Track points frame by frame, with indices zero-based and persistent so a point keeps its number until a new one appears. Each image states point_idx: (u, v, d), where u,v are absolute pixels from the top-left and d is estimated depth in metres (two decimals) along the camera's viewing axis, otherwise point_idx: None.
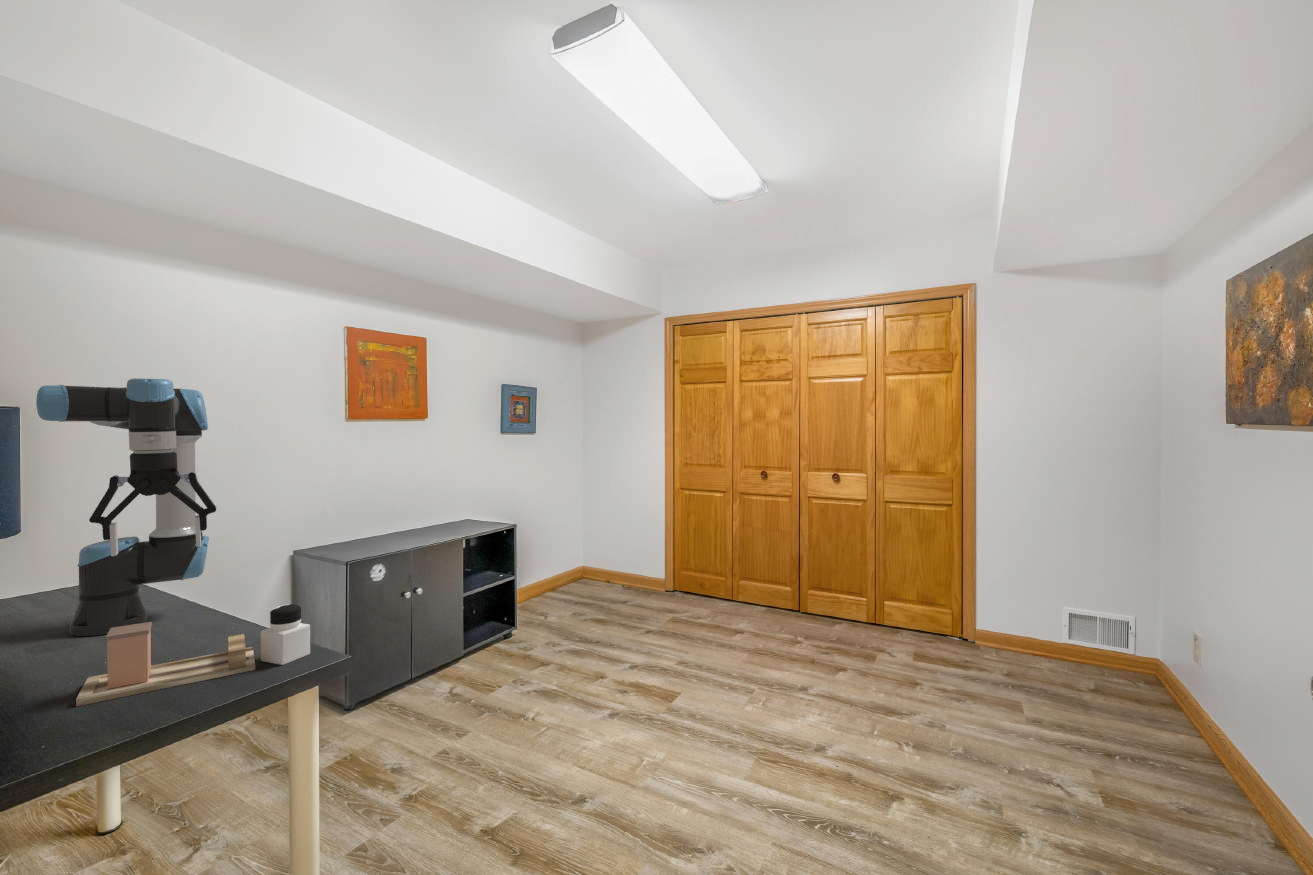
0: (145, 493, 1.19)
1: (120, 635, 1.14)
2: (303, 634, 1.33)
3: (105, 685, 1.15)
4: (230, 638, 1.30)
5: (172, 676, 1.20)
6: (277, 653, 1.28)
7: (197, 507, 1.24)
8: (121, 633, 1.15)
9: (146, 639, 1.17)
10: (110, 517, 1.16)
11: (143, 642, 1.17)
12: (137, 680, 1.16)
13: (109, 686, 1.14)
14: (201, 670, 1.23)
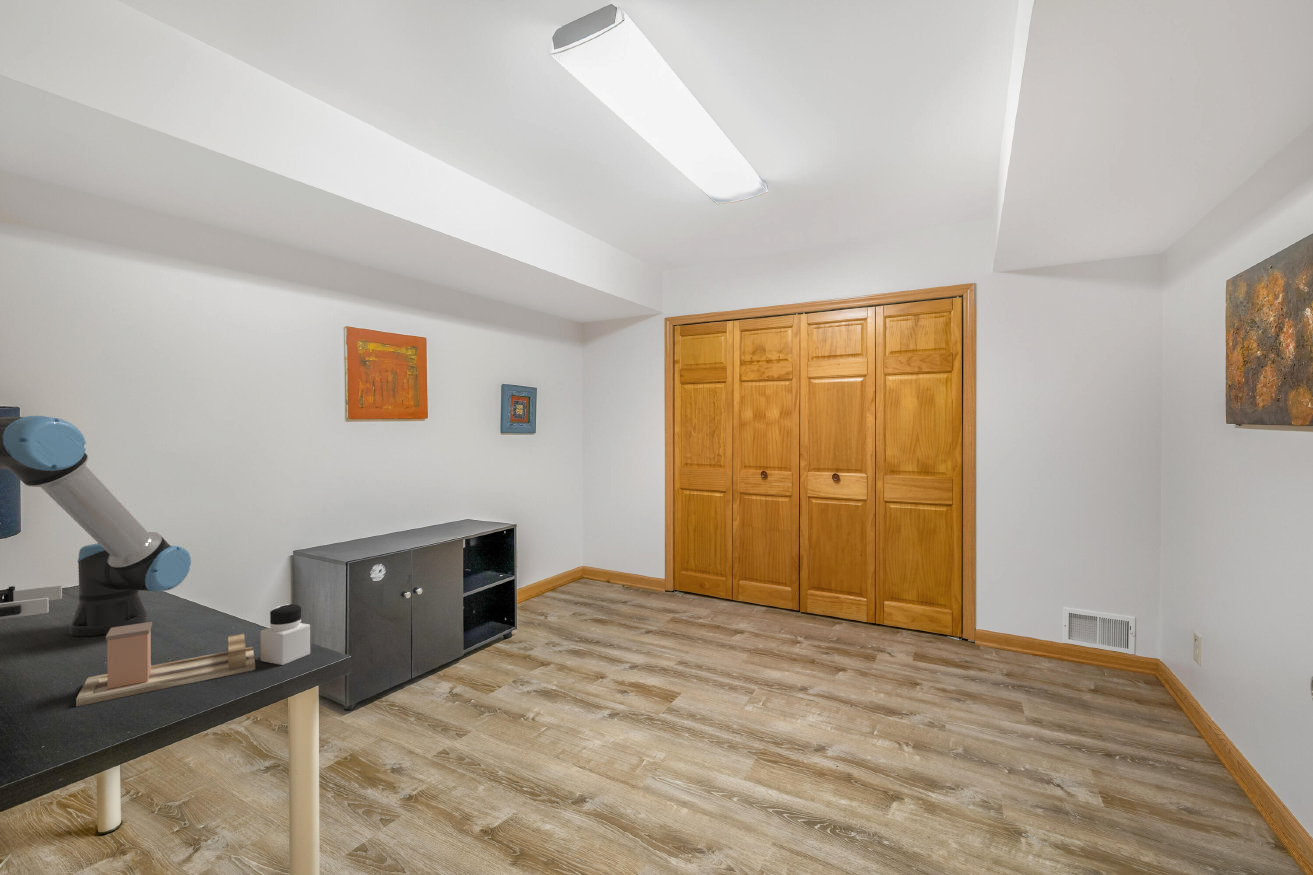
0: None
1: (120, 635, 1.14)
2: (303, 634, 1.33)
3: (105, 685, 1.15)
4: (230, 638, 1.30)
5: (172, 676, 1.20)
6: (277, 653, 1.28)
7: None
8: (121, 633, 1.15)
9: (146, 639, 1.17)
10: None
11: (143, 642, 1.17)
12: (137, 680, 1.16)
13: (109, 686, 1.14)
14: (201, 670, 1.23)
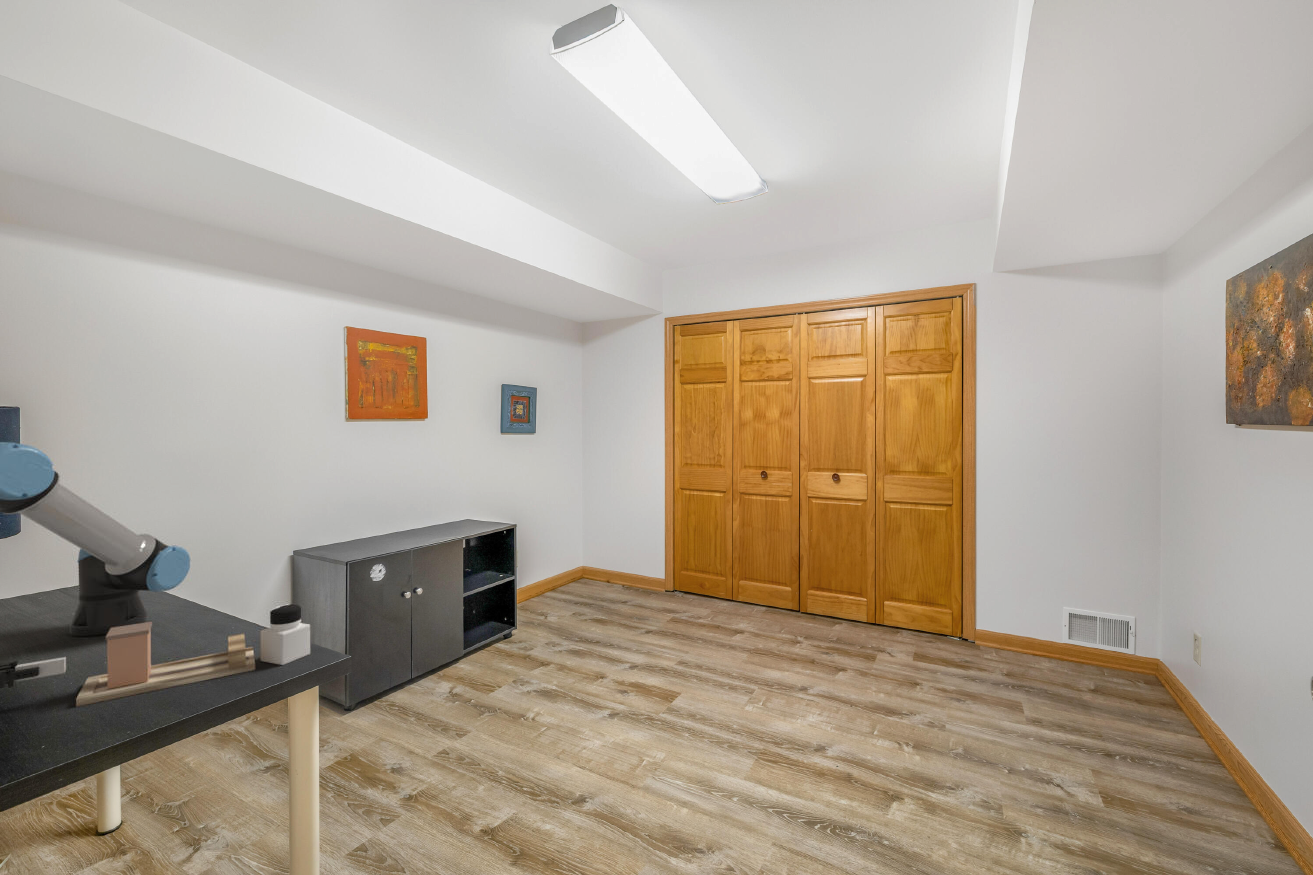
0: None
1: (120, 635, 1.14)
2: (303, 634, 1.33)
3: (105, 685, 1.15)
4: (230, 638, 1.30)
5: (172, 676, 1.20)
6: (277, 653, 1.28)
7: None
8: (121, 633, 1.15)
9: (146, 639, 1.17)
10: None
11: (143, 642, 1.17)
12: (137, 680, 1.16)
13: (109, 686, 1.14)
14: (201, 670, 1.23)
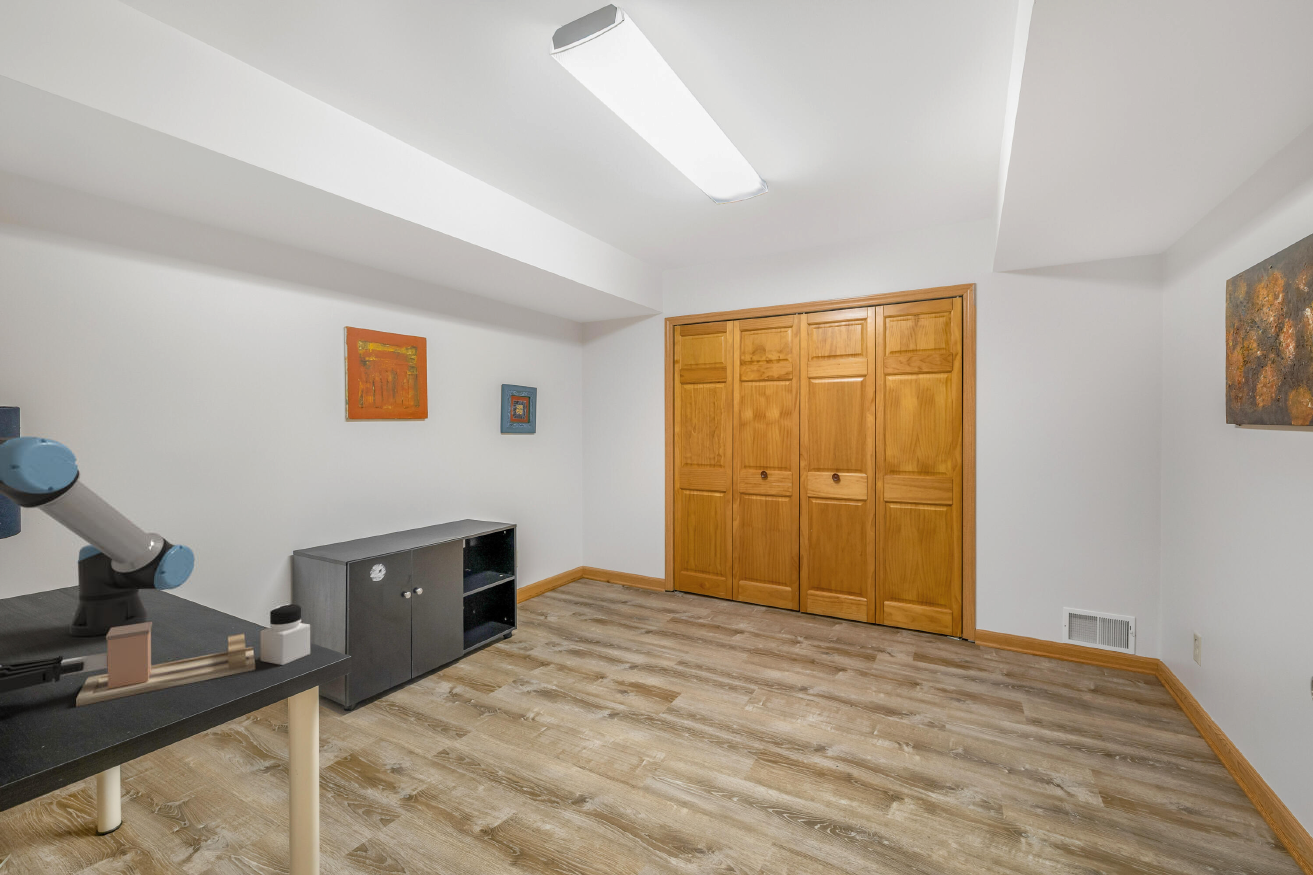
0: None
1: (120, 635, 1.14)
2: (303, 634, 1.33)
3: (105, 685, 1.15)
4: (230, 638, 1.30)
5: (172, 676, 1.20)
6: (277, 653, 1.28)
7: None
8: (121, 633, 1.15)
9: (146, 639, 1.17)
10: None
11: (143, 642, 1.17)
12: (137, 680, 1.16)
13: (109, 686, 1.14)
14: (201, 670, 1.23)
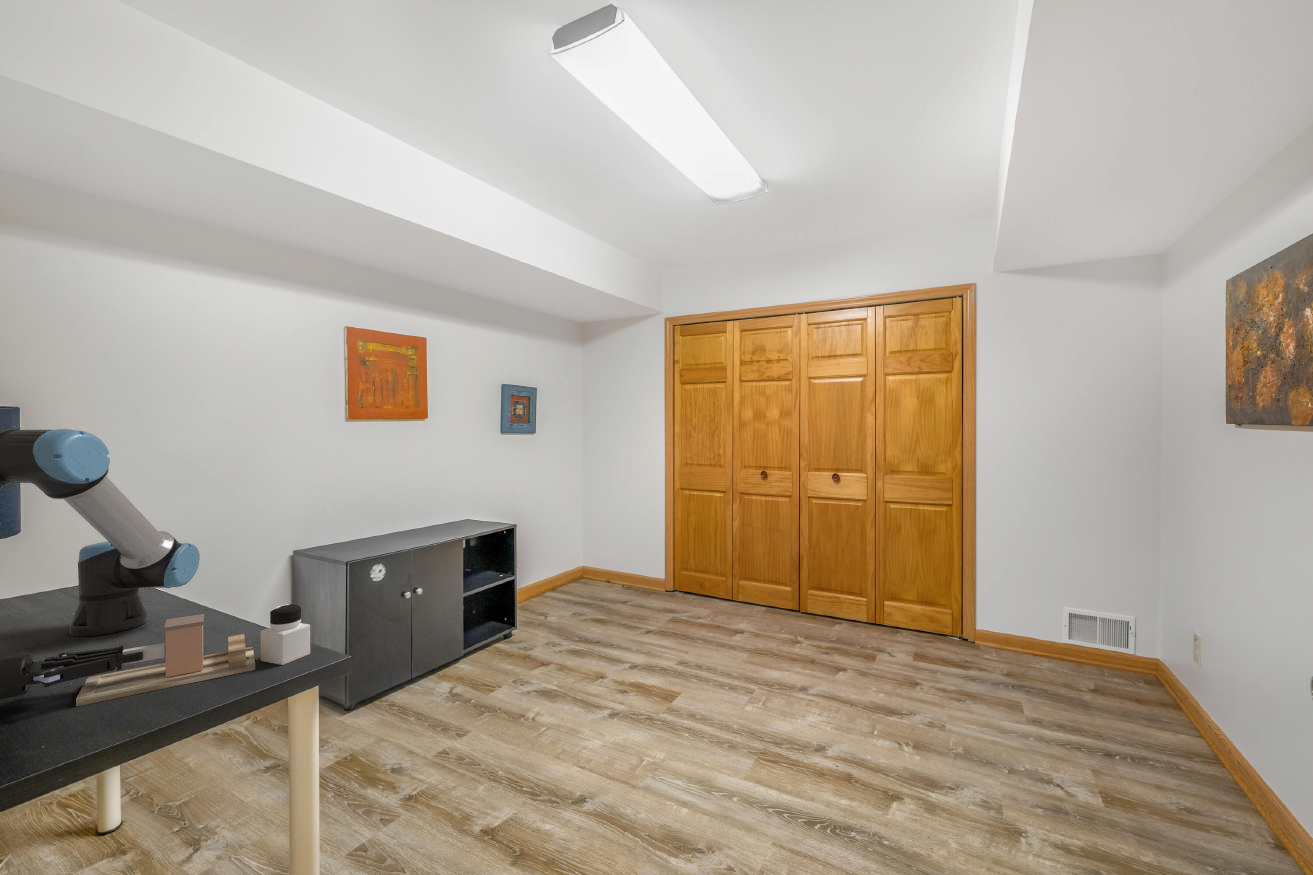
0: None
1: (177, 626, 1.20)
2: (303, 634, 1.33)
3: (105, 685, 1.15)
4: (230, 638, 1.30)
5: (172, 676, 1.20)
6: (277, 653, 1.28)
7: None
8: (178, 624, 1.20)
9: (201, 630, 1.22)
10: None
11: (198, 632, 1.22)
12: (193, 669, 1.21)
13: (167, 675, 1.19)
14: None
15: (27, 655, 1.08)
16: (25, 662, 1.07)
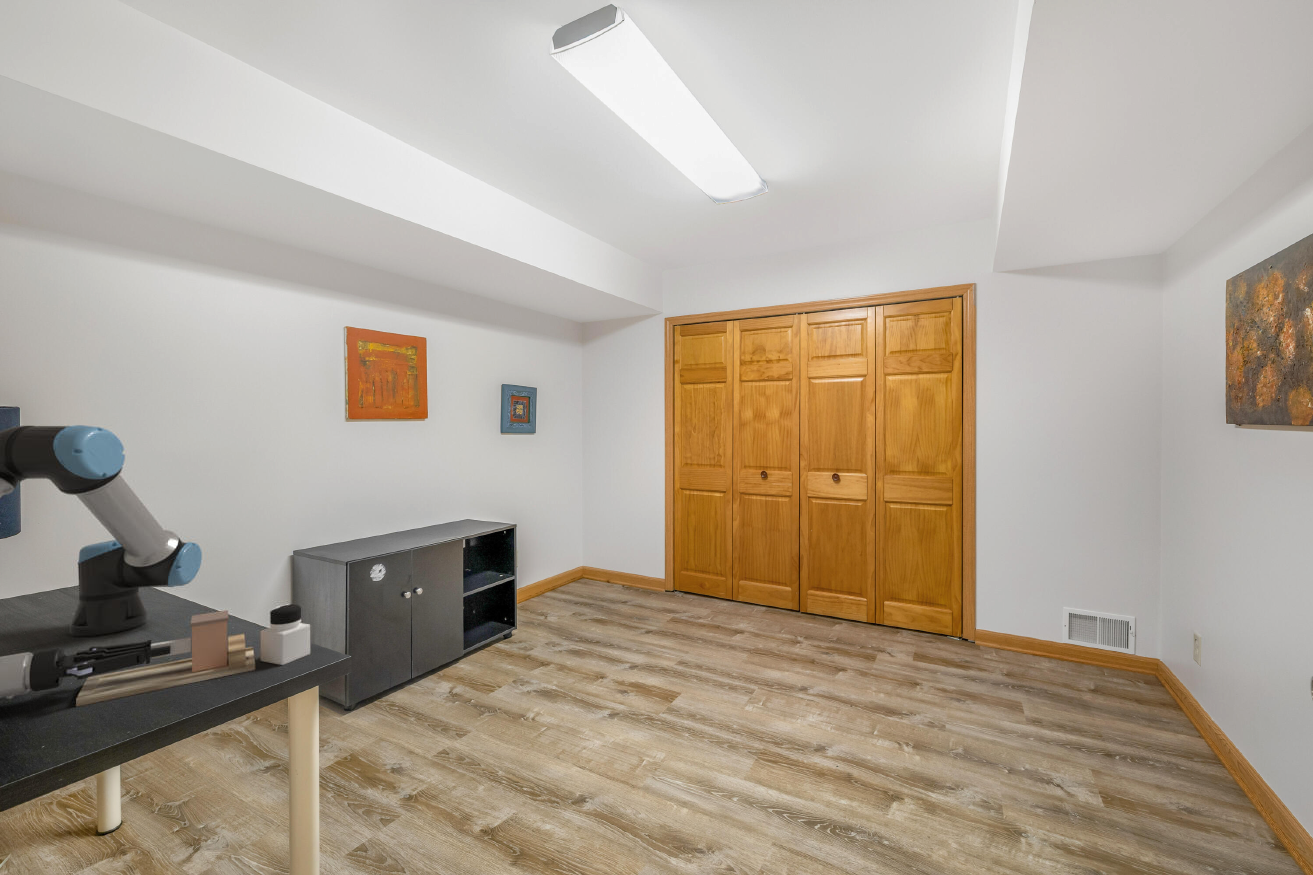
0: None
1: (203, 622, 1.22)
2: (303, 634, 1.33)
3: (105, 685, 1.15)
4: (230, 638, 1.30)
5: (172, 676, 1.20)
6: (277, 653, 1.28)
7: None
8: (204, 620, 1.23)
9: (226, 626, 1.25)
10: None
11: (223, 628, 1.25)
12: (218, 664, 1.24)
13: (193, 670, 1.21)
14: None
15: (60, 649, 1.11)
16: (58, 655, 1.10)
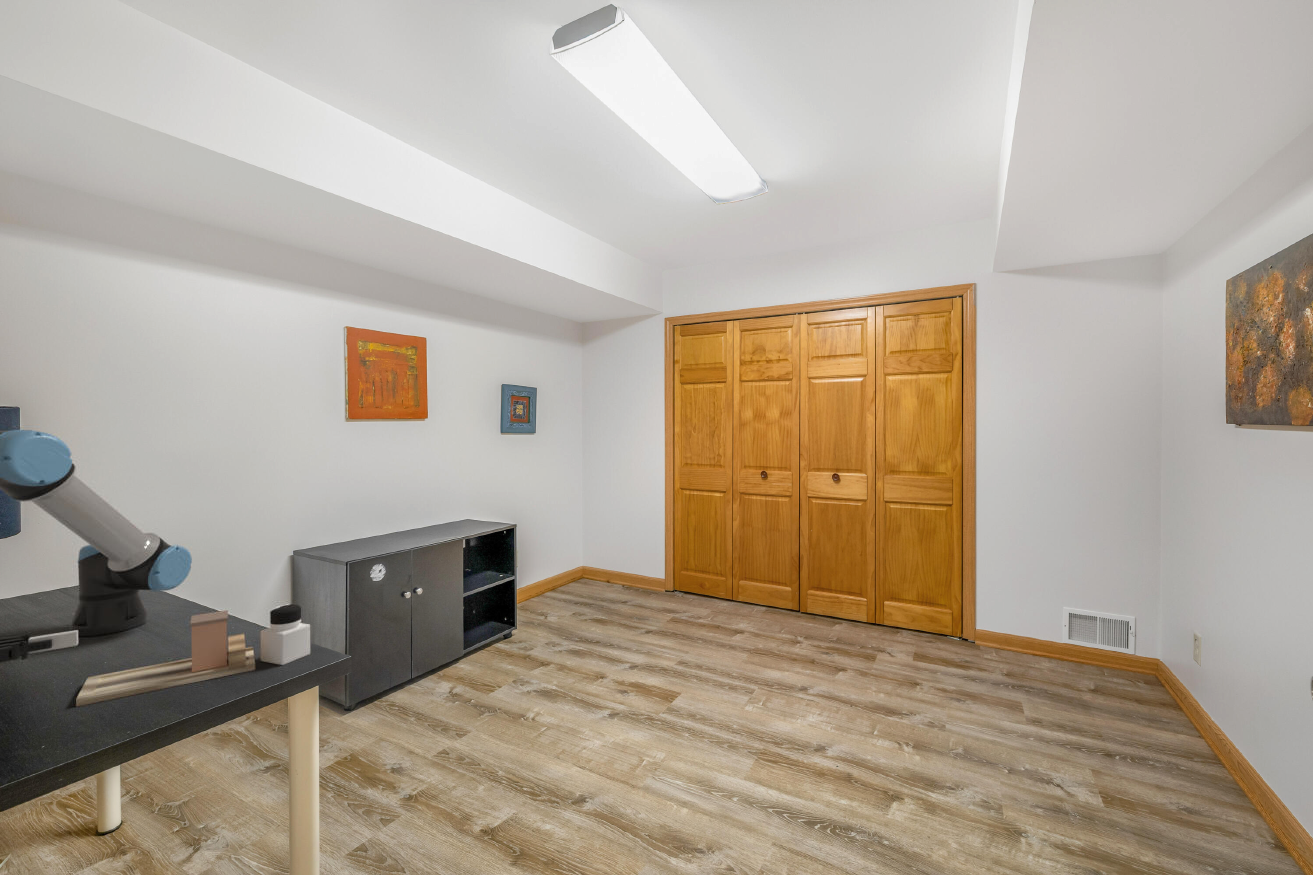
0: None
1: (203, 622, 1.22)
2: (303, 634, 1.33)
3: (105, 685, 1.15)
4: (230, 638, 1.30)
5: (172, 676, 1.20)
6: (277, 653, 1.28)
7: None
8: (203, 620, 1.23)
9: (225, 626, 1.25)
10: None
11: (223, 628, 1.24)
12: (217, 664, 1.24)
13: (193, 670, 1.21)
14: None
15: None
16: None
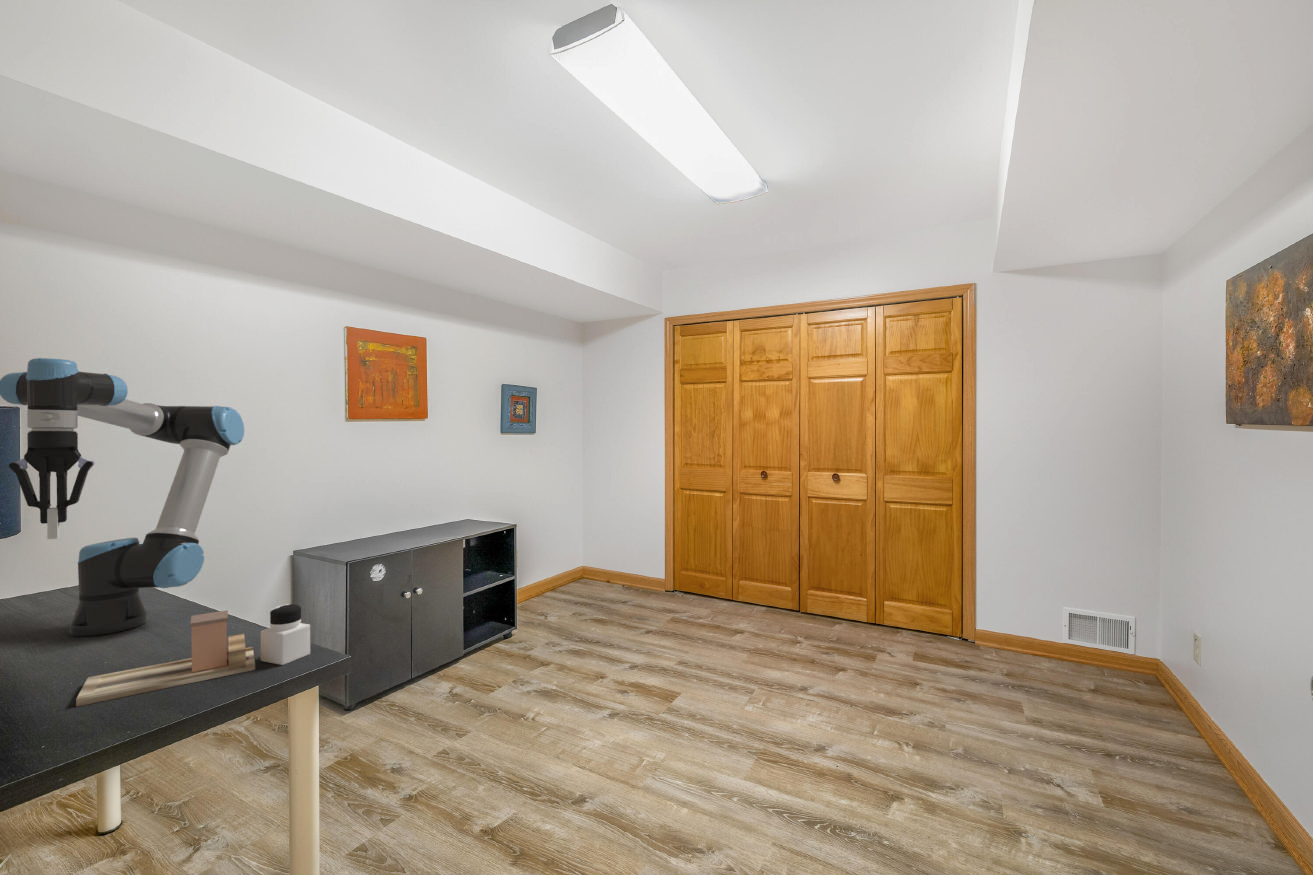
0: None
1: (203, 622, 1.22)
2: (303, 634, 1.33)
3: (105, 685, 1.15)
4: (230, 638, 1.30)
5: (172, 676, 1.20)
6: (277, 653, 1.28)
7: (62, 497, 1.24)
8: (203, 620, 1.23)
9: (225, 626, 1.25)
10: (43, 500, 1.22)
11: (223, 628, 1.24)
12: (217, 664, 1.24)
13: (193, 670, 1.21)
14: None
15: None
16: None
